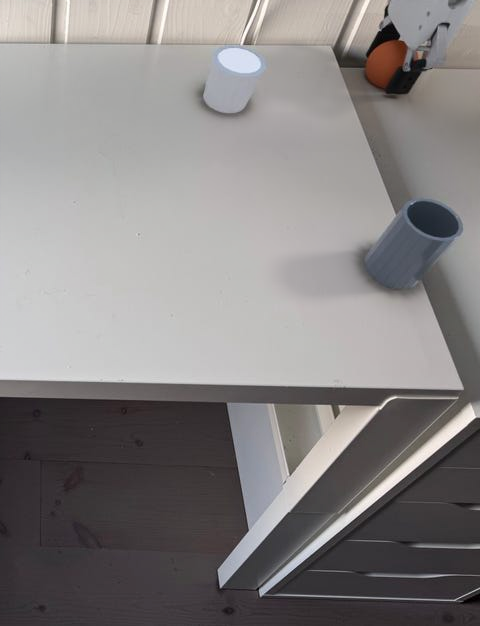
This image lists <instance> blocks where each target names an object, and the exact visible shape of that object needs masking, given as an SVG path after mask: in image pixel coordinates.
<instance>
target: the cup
mask: <svg viewBox="0 0 480 626" xmlns="http://www.w3.org/2000/svg"><path fill="white" fill-rule="evenodd" d="M463 232H464V224H463V220H462V219H461V218H460V216H459V214H457V212H456V211H454V210H453V208H452V207H449V206H448V205H447V204H445V203H443V202H441V201H437V200H435V199H432V198H427V197H426V198H425V197H417V198H416V197H415V198H412V199H410V200H408V201H406V202H405V203H404V205H403V206H402V207H401V209H400V210H399V211H398V212H397V214H396V215H395V217H394V218H393V219H392V221H391V222H390V223H389V224H388V226H387V227H386V229H384V231H382V234H381V235H380V236H379V237H378V239H377V240H376V241H375V243H374V244H373V245H372V247H371V248H370V249H369V250H368V252H367V254H366V255H365V256H364V261H363V262H364V263H363V264H364V267H365V269H366V271H367V273H368V274H369V276H370V277H371V278H372V279H373V280H375V281H376V282H377V283H379V284H380V285H382V286H384V287H386V288H388V289H391V290H392V289H393V290H397V291H398V290H400V291H404V290H409V289H412V288H413V287H415V286H417V284H418V283H419V282H420V281H421V280H422V279H423V278H424V277H425V276H426V274H427V273H428V272H429V271H430V270H431V269H432V268H433V267H434V265H436V263H438V261H439V260H440V259H441V258H442V257H443V256H444V255H445V253H447V251H448V250H449V249H451V247H452V246H453V245H454V244H455V243H456V241H457V240H459V238H460V237H461V235H462V234H463Z"/></svg>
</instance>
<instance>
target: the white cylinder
mask: <svg viewBox="0 0 480 626" xmlns="http://www.w3.org/2000/svg"><path fill="white" fill-rule="evenodd" d="M210 61H211V62H210V67H209V69H208V74H207V78H206V83H205V87H204V91H203V96H202V97H203V100H204V103H205V104H206V105H207V106H208V107H209V108H211V109H212V110H213V111H215V112H219V113H223V114H235V113H239V112H241V111H242V110H244V109H245V108H246V106H247V104H248V102H249V100H250V99H251V97H252V95H253V93H254V92H255V89H256V87H257V86H258V84H259V82H260V80H261V78H262V76H263V74H264V73H265V71H266V68H267V63H266V60H265V58H264V57H263V56H262V55H261V54H260V53H259V52H258V51H256V50H254V49H252V48H250V47H247V46H243V45H239V44H226V45H223V46H219V47H218V48H217V49H215V50H214V51H213V54H212V57H211V60H210Z"/></svg>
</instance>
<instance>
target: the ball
mask: <svg viewBox="0 0 480 626" xmlns="http://www.w3.org/2000/svg"><path fill="white" fill-rule="evenodd" d="M407 50H408V46H407V45H406V43H405V42H404V40H403V39H399V40H392V41H388V42H385V43H383V44H381V45H379V46H378V47H376V48H375V49H374V50H373V51H372V53H371V54H370V56H369V57H368V58H366V61H365V62H366V63H365V75H366V77H367V79H368V81H369V82H370V83H371V84H372V85H374V86H376V87H377V88H381V89H385V88H386V87H387V85H388V83H389V82H390V80H391V78H392V77H393V75H394V73H395V72H396V70H397V69H398V67H399V66H403V65H404V61H405V57H406V54H407ZM419 59H420V58H419V53H418V51H416V55H415V58H414V61H415V60H419Z"/></svg>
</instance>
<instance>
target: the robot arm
mask: <svg viewBox="0 0 480 626" xmlns="http://www.w3.org/2000/svg"><path fill="white" fill-rule="evenodd" d="M475 1H476V0H387V2H386V3H387V4H386V5H385V7H384V9H383V11H384V13H383V19H382V20H381V21H380V22H379V23H378V24H379V25H378V31H377V33H376V35H375V36H374V38H373V40H372V42H371V44H370V46H369V47H368V49H367V51H366V53H365V56H366V59H368V57H369V56H370V54H371V53H372V51H373V50H374V49H375V48H376V47H378V46H379V45H381V44H383V43H385V42H388V41H392V40H400V38H401V40H402V41H404V42H405V43H406V45H407V46H408V50H407V54H406V57H405V61H404V65H403V66H399V67H398V69H397V70H396V72H395V73H394V75H393V77H392V78H391V80H390V82H389V83H388V85H387V87H386V88H384V92H385V94H386V95H403V96H404V95H405V96H406V95H408V94H409V93H410V92H411V90H412V89H413V87H414V85H415V84H416V82H417V80H419V77H420V76H421V75H422V73H426V72H427V71H430V70H432V69H434V68H436V67H438V66H440V65H442V64H444V63H445V62H446V56H447V49H448V48H449V47H450V45H451V43H452V42H453V41H454V39H455V37H456V36H457V34H458V33H459V31H460V29H461V27H462V26H463V24H464V22H465V21H466V19H467V17H468V15H469V13H470V12H471V10H472V8H473V6H474V4H475ZM425 42H426V45H424V44H425ZM416 51H417V52H422V56H421V58H419V60H415V61H414V58H415V55H416Z"/></svg>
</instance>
